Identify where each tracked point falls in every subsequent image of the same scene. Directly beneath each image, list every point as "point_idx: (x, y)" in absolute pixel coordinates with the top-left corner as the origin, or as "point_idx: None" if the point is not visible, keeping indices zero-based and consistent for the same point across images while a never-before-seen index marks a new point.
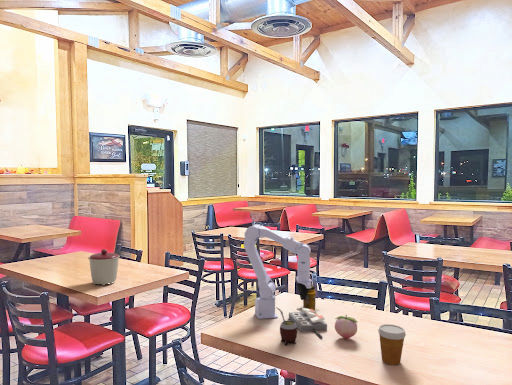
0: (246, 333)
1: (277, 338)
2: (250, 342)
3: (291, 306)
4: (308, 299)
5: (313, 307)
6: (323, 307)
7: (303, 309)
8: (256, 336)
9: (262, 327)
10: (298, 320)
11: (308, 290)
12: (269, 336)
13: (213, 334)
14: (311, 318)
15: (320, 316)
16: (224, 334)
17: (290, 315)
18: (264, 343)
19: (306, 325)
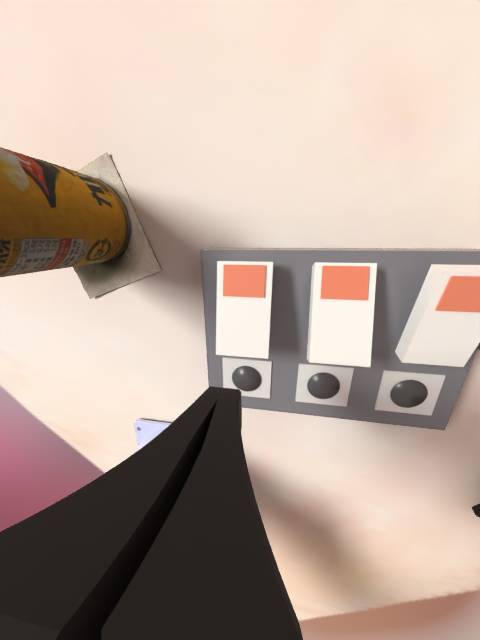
0: (338, 561)
1: (439, 510)
2: (423, 580)
3: (52, 308)
4: (58, 244)
5: (107, 200)
6: (45, 82)
7: (253, 357)
8: (380, 551)
9: (300, 508)
10: (347, 406)
11: (256, 506)
12: (402, 523)
13: (310, 615)
14: (414, 355)
15: (468, 293)
16: (321, 600)
17: (242, 403)
18: (459, 557)
19: (451, 399)
